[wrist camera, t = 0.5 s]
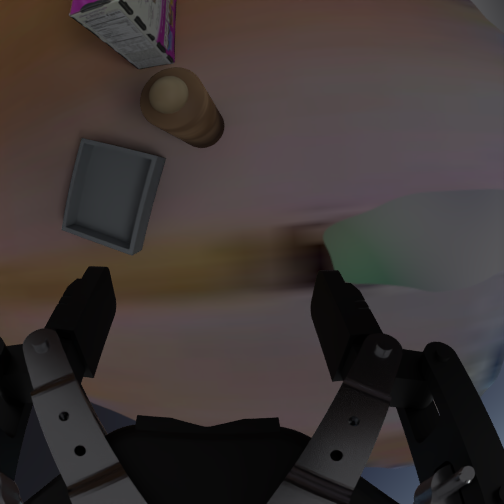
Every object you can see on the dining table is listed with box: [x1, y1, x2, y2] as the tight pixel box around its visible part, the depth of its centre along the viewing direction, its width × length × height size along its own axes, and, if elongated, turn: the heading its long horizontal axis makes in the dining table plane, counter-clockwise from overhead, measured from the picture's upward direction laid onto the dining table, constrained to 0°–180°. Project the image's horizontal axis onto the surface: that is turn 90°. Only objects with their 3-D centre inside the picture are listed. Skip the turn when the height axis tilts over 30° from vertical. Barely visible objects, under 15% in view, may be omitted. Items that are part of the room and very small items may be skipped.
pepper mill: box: [140, 67, 224, 148], centre depth 26 cm, size 5×5×15 cm
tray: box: [62, 138, 166, 255], centre depth 33 cm, size 11×10×3 cm
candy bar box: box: [69, 0, 176, 69], centre depth 22 cm, size 11×5×16 cm, turn 3°
